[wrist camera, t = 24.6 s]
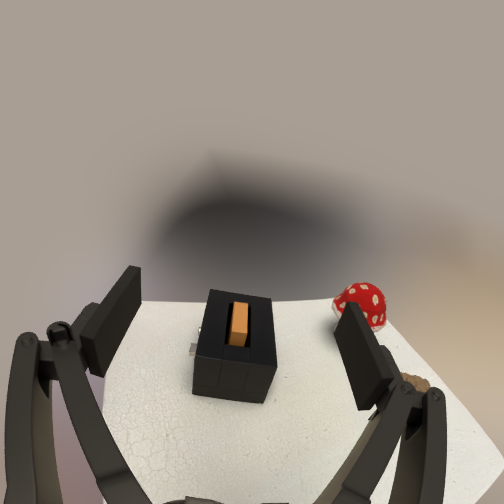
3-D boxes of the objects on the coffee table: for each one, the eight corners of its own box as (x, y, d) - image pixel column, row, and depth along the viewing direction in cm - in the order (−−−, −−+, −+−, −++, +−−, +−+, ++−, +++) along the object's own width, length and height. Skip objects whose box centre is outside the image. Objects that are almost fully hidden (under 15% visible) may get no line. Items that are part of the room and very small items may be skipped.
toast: (224, 366, 45) (231, 331, 42) (227, 336, 52) (234, 301, 49) (238, 368, 45) (247, 333, 42) (240, 338, 52) (247, 303, 49)
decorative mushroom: (334, 314, 71) (353, 264, 65) (378, 338, 64) (403, 288, 57) (309, 338, 60) (331, 282, 54) (361, 368, 53) (392, 313, 47)
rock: (430, 437, 35) (445, 423, 33) (385, 428, 38) (399, 414, 36) (426, 391, 47) (438, 376, 45) (387, 381, 50) (398, 365, 48)
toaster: (184, 392, 41) (186, 354, 37) (200, 326, 58) (204, 287, 54) (263, 403, 42) (277, 367, 38) (261, 335, 59) (271, 298, 54)
